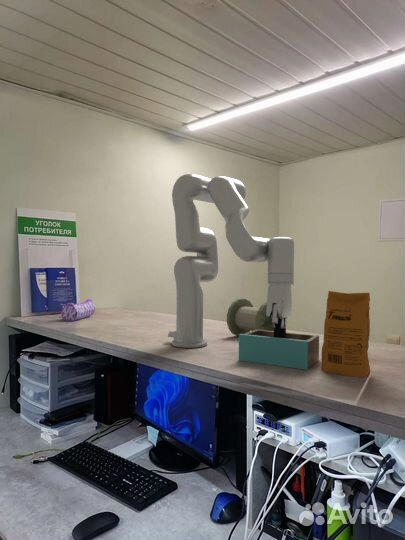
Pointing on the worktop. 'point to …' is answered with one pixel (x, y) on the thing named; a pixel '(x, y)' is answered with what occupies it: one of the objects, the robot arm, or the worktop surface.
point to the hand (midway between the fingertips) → (279, 341)
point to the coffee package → (346, 334)
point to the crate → (313, 339)
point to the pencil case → (78, 310)
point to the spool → (247, 317)
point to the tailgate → (274, 351)
